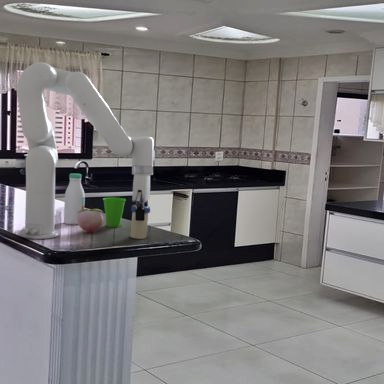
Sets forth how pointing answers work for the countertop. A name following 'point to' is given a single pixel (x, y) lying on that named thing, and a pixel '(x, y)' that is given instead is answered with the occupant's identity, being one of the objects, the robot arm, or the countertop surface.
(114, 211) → the cup
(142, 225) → the jar
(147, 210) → the jar lid
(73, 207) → the milk bottle
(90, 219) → the decorative fruit
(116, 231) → the countertop surface
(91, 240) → the countertop surface
